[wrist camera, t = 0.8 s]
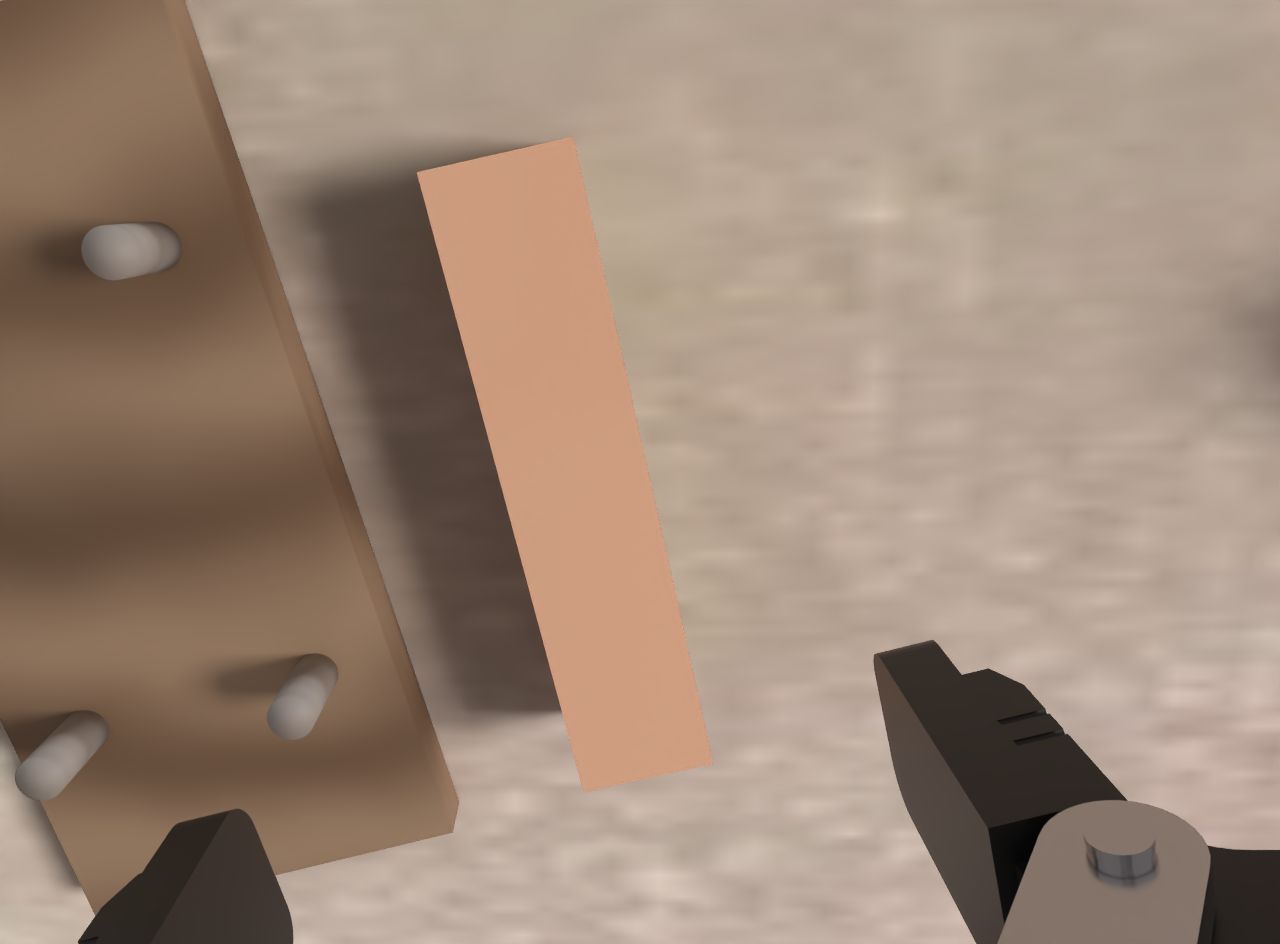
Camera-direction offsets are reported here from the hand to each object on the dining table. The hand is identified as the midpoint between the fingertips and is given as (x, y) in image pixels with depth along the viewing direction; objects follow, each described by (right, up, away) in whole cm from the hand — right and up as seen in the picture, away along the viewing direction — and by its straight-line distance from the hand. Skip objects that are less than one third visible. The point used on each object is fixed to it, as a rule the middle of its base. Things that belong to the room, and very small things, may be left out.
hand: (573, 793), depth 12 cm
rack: (-13, +4, +15) cm, 20 cm away
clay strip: (-1, +5, +16) cm, 17 cm away
